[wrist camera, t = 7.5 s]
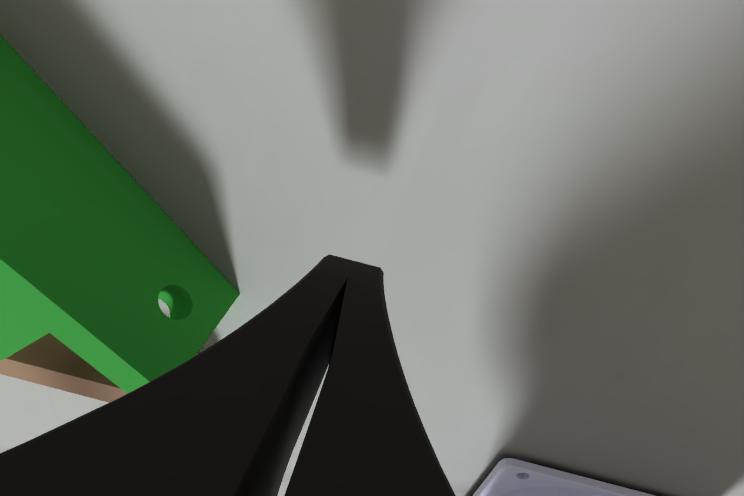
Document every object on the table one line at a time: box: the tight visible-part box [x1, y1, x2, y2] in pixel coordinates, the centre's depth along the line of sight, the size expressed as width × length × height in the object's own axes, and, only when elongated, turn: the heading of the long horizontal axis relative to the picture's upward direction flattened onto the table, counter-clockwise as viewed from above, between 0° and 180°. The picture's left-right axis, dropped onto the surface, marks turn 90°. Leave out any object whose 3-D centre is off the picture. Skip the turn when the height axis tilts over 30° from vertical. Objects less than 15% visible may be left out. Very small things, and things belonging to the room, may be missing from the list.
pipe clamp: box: [0, 35, 240, 394], centre depth 10 cm, size 11×4×5 cm, turn 32°
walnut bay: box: [0, 333, 127, 402], centre depth 10 cm, size 10×19×2 cm, turn 169°
